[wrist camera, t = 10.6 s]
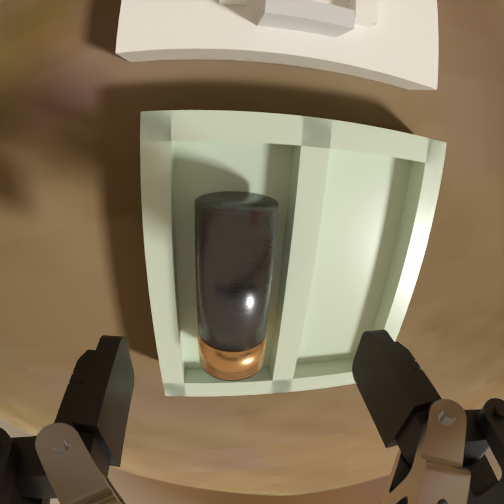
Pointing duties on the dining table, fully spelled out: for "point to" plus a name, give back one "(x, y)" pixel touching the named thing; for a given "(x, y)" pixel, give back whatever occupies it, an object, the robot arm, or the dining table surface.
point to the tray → (288, 236)
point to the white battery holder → (291, 35)
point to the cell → (233, 280)
